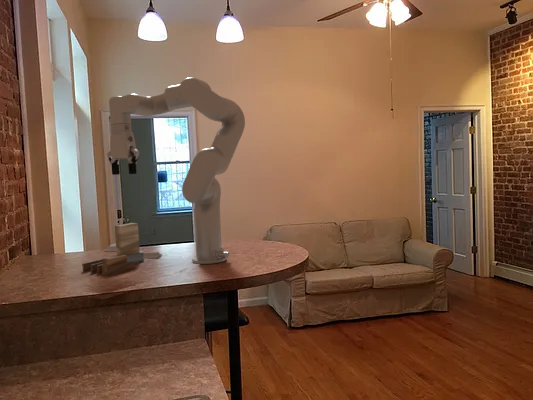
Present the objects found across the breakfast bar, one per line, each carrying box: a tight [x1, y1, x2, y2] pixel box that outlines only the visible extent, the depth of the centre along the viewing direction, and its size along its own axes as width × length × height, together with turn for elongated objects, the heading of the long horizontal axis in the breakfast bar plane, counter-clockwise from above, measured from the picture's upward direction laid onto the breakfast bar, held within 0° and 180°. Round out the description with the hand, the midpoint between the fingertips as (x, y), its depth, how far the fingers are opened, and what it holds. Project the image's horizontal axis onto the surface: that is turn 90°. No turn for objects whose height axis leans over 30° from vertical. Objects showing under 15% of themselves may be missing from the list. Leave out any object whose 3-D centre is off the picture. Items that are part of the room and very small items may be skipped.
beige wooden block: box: [114, 222, 141, 255], centre depth 168 cm, size 3×8×14 cm, turn 147°
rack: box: [81, 258, 135, 277], centre depth 157 cm, size 15×11×4 cm
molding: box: [103, 242, 162, 260], centre depth 195 cm, size 42×12×3 cm, turn 39°
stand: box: [112, 251, 150, 266], centre depth 169 cm, size 9×11×4 cm
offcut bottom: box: [102, 266, 107, 274], centre depth 155 cm, size 4×8×2 cm, turn 147°
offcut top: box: [101, 254, 127, 267], centre depth 155 cm, size 4×7×2 cm, turn 147°
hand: (124, 174), depth 178 cm, fingers open, 9 cm apart
